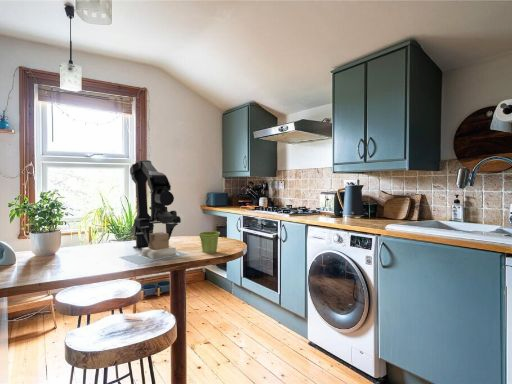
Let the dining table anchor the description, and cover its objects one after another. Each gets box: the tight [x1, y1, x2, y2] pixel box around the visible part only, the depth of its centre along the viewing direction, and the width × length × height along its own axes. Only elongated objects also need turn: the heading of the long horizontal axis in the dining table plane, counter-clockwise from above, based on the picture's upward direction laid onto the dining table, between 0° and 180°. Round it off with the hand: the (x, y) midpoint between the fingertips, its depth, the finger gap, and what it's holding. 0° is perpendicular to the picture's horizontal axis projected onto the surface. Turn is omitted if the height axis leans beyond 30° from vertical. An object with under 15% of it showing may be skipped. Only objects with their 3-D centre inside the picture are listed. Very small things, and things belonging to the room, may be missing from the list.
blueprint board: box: [118, 250, 189, 265], centre depth 129 cm, size 17×22×1 cm
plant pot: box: [198, 230, 221, 254], centre depth 137 cm, size 9×9×9 cm
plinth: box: [141, 245, 177, 259], centre depth 130 cm, size 10×10×3 cm
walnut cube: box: [148, 231, 170, 250], centre depth 130 cm, size 6×6×6 cm
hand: (158, 241), depth 130 cm, fingers open, 9 cm apart
